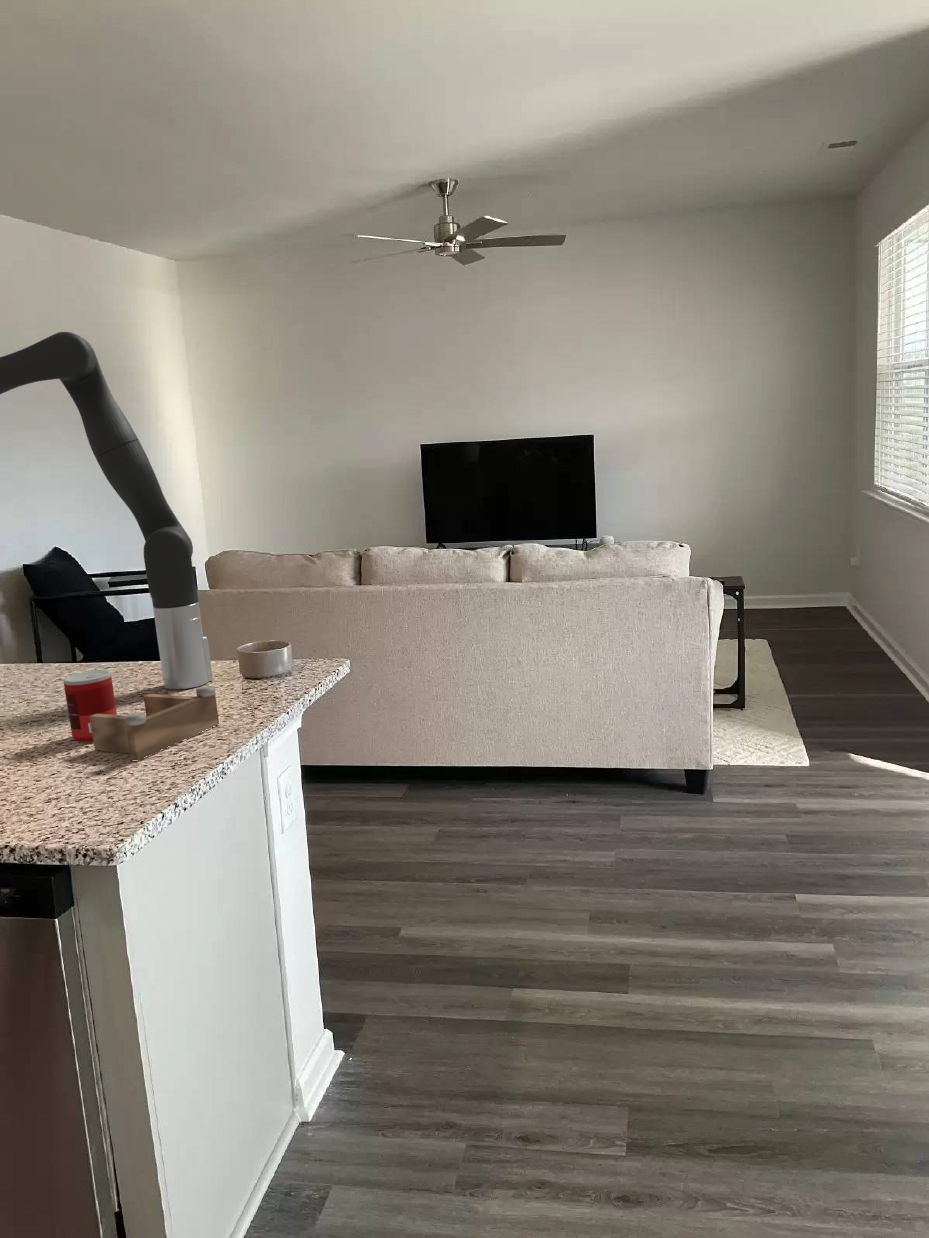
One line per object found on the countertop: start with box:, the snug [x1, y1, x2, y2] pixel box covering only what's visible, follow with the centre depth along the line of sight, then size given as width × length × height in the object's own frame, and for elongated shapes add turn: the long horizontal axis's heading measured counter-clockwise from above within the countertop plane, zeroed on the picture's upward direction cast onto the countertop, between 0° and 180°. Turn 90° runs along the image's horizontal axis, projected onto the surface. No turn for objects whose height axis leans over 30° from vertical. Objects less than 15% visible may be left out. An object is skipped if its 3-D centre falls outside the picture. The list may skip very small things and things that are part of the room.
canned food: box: [63, 669, 118, 743], centre depth 175 cm, size 8×8×11 cm
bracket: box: [90, 685, 220, 761], centre depth 170 cm, size 13×20×7 cm, turn 154°
